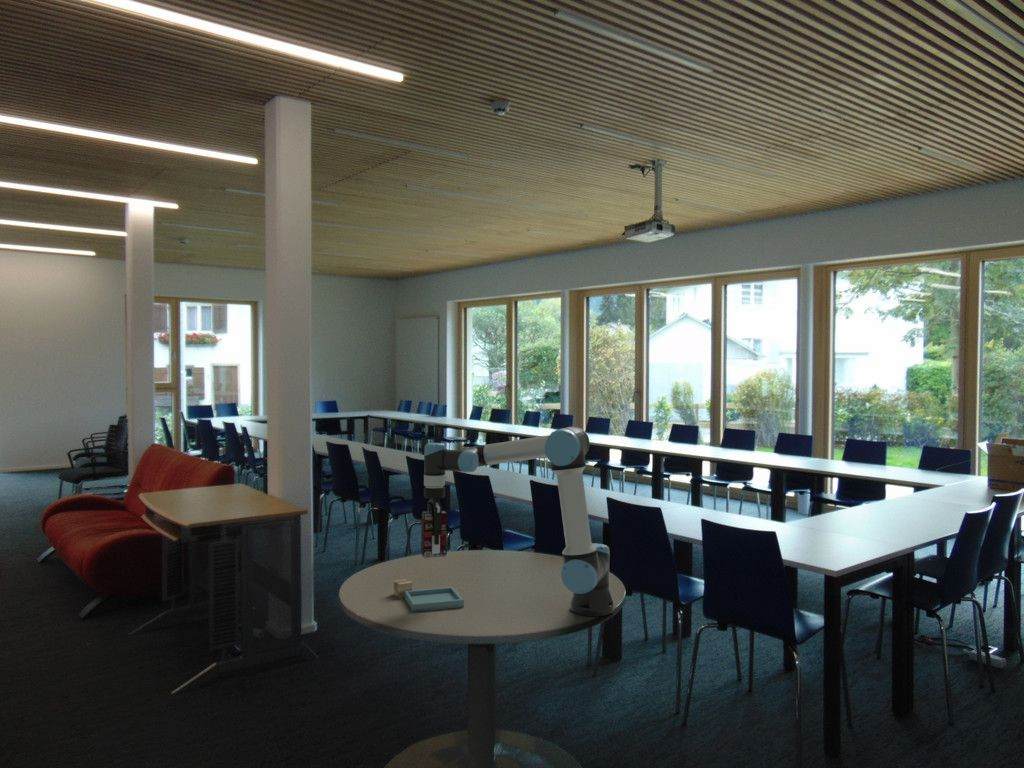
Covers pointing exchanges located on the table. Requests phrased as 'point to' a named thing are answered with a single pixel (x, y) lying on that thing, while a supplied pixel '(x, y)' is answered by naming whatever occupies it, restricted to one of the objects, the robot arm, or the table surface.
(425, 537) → the supplement box
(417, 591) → the tray
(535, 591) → the table surface
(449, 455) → the robot arm
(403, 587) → the oak cube
